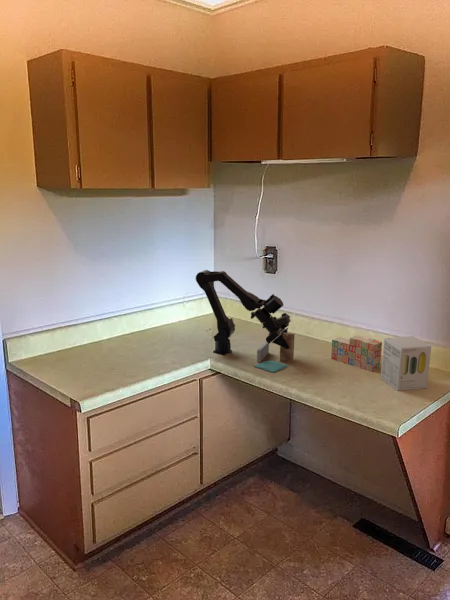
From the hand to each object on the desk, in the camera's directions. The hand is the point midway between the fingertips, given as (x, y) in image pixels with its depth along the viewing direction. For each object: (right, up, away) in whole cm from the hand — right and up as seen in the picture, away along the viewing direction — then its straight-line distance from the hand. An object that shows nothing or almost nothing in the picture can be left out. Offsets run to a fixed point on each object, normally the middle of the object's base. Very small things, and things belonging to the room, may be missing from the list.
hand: (290, 346), depth 238 cm
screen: (-12, -5, +6) cm, 14 cm away
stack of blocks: (+28, -8, -1) cm, 29 cm away
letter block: (-1, -6, +2) cm, 7 cm away
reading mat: (-9, -8, -6) cm, 13 cm away
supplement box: (+42, -13, -22) cm, 50 cm away
